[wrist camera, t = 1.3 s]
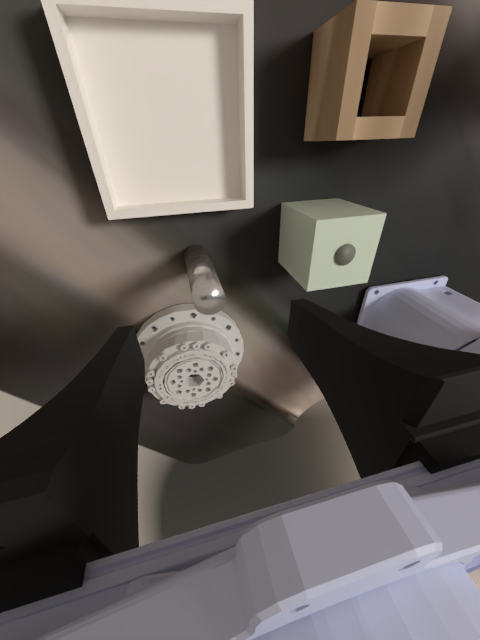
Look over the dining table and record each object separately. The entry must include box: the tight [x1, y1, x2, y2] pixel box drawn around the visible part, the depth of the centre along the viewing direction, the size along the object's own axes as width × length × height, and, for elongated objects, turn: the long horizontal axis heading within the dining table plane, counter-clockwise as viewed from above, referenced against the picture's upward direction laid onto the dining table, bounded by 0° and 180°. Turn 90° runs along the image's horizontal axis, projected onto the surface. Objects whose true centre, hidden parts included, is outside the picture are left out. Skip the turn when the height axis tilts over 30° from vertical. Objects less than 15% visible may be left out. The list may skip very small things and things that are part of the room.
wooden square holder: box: [304, 0, 452, 141], centre depth 15 cm, size 5×5×4 cm
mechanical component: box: [136, 304, 243, 409], centre depth 23 cm, size 10×4×10 cm
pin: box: [185, 245, 226, 315], centre depth 17 cm, size 2×2×7 cm
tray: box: [41, 0, 254, 220], centre depth 14 cm, size 9×9×2 cm
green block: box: [278, 198, 387, 292], centre depth 19 cm, size 5×5×6 cm
